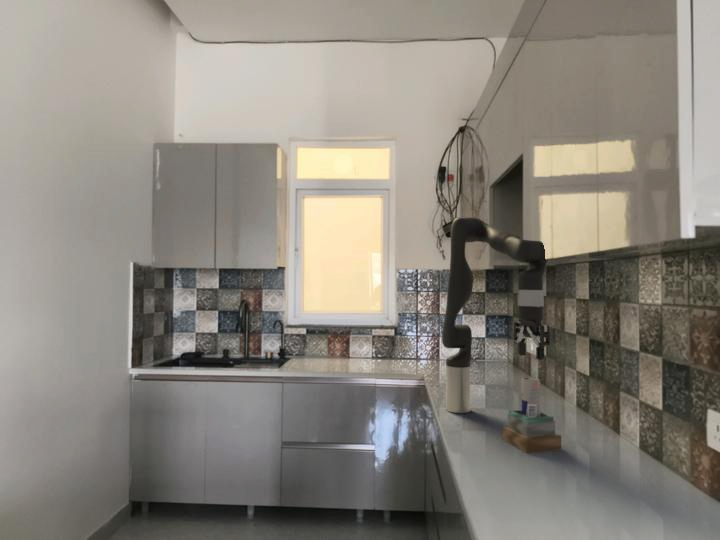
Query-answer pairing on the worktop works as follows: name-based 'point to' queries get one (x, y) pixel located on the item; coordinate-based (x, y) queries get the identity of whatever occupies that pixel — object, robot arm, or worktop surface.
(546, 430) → the square stepped box
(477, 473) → the worktop surface
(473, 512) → the worktop surface
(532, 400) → the energy drink
